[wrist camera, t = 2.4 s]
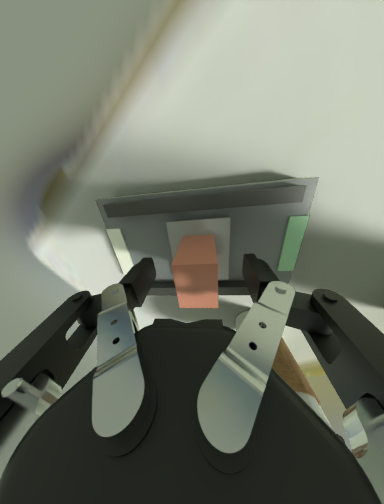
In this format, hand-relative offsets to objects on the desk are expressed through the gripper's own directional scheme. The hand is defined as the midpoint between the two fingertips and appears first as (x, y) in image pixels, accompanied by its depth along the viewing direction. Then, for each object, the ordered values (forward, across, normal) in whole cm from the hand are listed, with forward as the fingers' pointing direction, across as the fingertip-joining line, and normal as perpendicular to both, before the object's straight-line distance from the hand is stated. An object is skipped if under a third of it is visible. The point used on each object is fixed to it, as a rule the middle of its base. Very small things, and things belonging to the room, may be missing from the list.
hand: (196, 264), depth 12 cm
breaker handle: (+3, 0, 0) cm, 3 cm away
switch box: (+6, 0, 0) cm, 6 cm away
